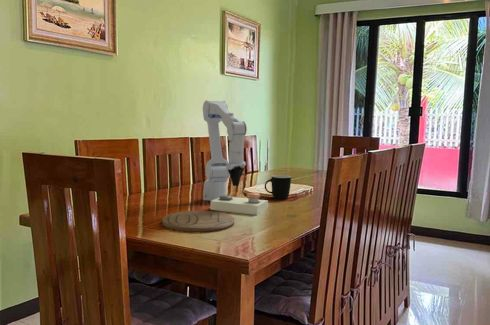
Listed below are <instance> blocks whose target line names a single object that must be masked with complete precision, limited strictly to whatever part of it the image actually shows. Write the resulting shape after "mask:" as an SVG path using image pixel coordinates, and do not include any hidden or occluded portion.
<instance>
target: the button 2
mask: <svg viewBox="0 0 490 325" xmlns="http://www.w3.org/2000/svg"><path fill="white" fill-rule="evenodd" d="M260 197H261V193H258V192H248V193H247V194H246V198H247V199H248V203H253V204H257V203H258V201H259V200H260V199H259V198H260Z"/></svg>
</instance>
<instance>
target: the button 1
mask: <svg viewBox="0 0 490 325" xmlns="http://www.w3.org/2000/svg"><path fill="white" fill-rule="evenodd" d="M232 197H233V196H232V195H228V194H226V195H222V196H220V199H221V200H224V201H230V200H232Z"/></svg>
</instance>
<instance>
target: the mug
mask: <svg viewBox="0 0 490 325" xmlns="http://www.w3.org/2000/svg"><path fill="white" fill-rule="evenodd" d="M269 182H271V183H270V184H271V191H270V190H269V189H267V184H268V183H269ZM291 182H292V177H291V176H290V175H286V174H285V175H284V174H274V175H271V178H270V179H267V180H266V182H265V183H264V190H265V191H266V192H267V193H268V194H271V195H272V197H273V198H274V199H276V200H287V199H288V198H289V196H290V191H291V185H292V184H291Z"/></svg>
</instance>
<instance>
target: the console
mask: <svg viewBox="0 0 490 325" xmlns="http://www.w3.org/2000/svg"><path fill="white" fill-rule="evenodd" d="M268 208H269V200H267V199H266V200H265V199H259V201H258V203H257V204H253V203H248V197H236V196H232V200H230V201H224V200H221V199H220V198H217V199H214V200H212V201H210V211H217V212H219V211H220V212H228V213H237V214H243V215H246V214H247V215H253V216H254V215H255V216H256V215H257V216H258V215H260V214H261V213H263V212H265V211H267V210H268Z"/></svg>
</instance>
